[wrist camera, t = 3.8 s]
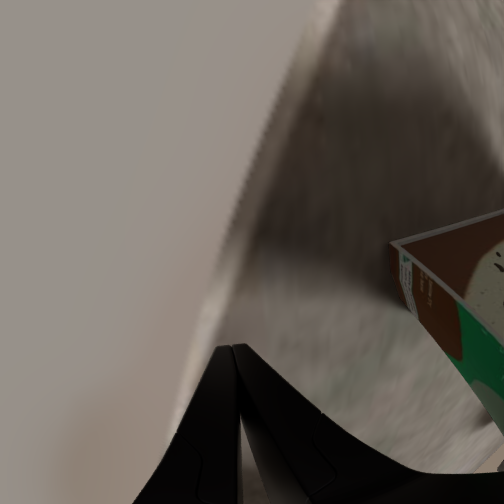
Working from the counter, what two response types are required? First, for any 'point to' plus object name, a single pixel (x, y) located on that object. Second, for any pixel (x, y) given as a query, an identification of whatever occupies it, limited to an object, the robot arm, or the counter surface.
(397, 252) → the food container
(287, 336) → the counter surface
